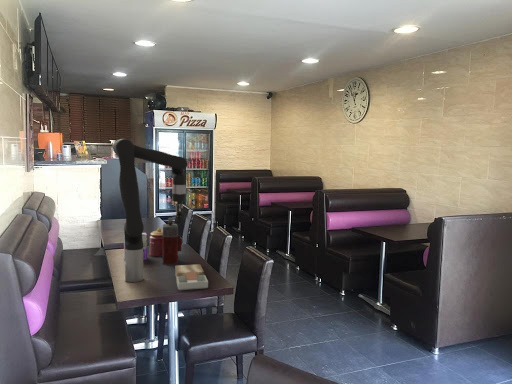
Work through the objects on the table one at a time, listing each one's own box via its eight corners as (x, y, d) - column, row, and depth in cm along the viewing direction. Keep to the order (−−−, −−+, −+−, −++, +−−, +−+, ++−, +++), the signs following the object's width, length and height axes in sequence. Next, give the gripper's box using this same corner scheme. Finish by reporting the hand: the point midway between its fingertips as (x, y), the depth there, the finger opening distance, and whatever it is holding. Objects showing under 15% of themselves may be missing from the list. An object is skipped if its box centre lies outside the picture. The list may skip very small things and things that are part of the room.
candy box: (124, 261, 250) (124, 235, 248) (123, 259, 255) (123, 233, 253) (147, 259, 255) (147, 234, 253) (146, 257, 260) (146, 232, 258)
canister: (149, 257, 261) (149, 230, 259) (149, 252, 273) (149, 226, 271) (169, 256, 264) (169, 229, 262) (168, 251, 277) (168, 226, 275)
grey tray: (178, 290, 203) (178, 283, 202) (176, 283, 213) (176, 276, 213) (207, 288, 207) (208, 281, 206) (204, 281, 217) (204, 274, 217)
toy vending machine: (181, 263, 248) (181, 218, 245) (163, 264, 246) (163, 219, 243) (180, 259, 257) (181, 216, 254) (162, 260, 254) (162, 216, 251)
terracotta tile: (186, 282, 210) (187, 279, 209) (186, 275, 214) (186, 272, 212) (196, 282, 212) (196, 279, 210) (195, 274, 215) (195, 271, 214)
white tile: (187, 280, 209) (187, 284, 209) (188, 283, 204) (188, 288, 204) (196, 279, 210) (196, 284, 211) (197, 282, 205) (197, 287, 206)
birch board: (177, 282, 214) (177, 273, 214) (175, 274, 228) (175, 265, 227) (203, 280, 218) (203, 271, 217) (200, 272, 231) (200, 264, 231)
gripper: (171, 191, 231) (171, 221, 233) (173, 194, 218) (172, 225, 220) (184, 191, 233) (184, 220, 235) (187, 194, 220) (186, 225, 222)
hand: (178, 223), depth 228 cm, fingers closed
